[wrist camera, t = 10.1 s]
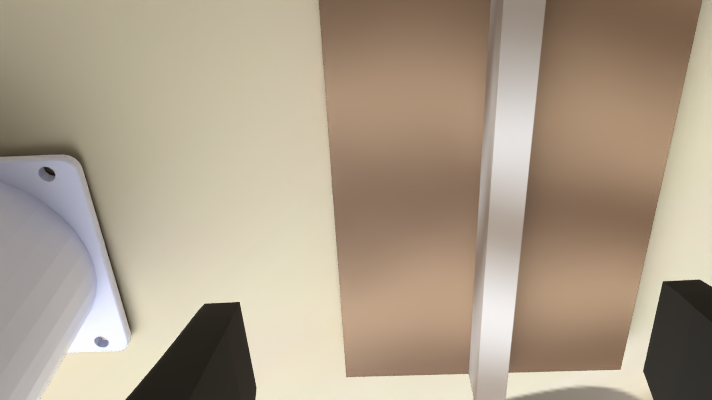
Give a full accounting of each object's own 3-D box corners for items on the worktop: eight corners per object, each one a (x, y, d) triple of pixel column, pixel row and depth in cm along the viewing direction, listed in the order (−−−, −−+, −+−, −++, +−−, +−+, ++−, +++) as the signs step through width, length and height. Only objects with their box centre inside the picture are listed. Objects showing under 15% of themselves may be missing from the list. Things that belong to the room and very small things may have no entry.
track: (609, 346, 24) (653, 437, 20) (346, 353, 24) (344, 444, 21) (835, -761, 11) (1065, -1051, 8) (271, -717, 11) (228, -974, 8)
